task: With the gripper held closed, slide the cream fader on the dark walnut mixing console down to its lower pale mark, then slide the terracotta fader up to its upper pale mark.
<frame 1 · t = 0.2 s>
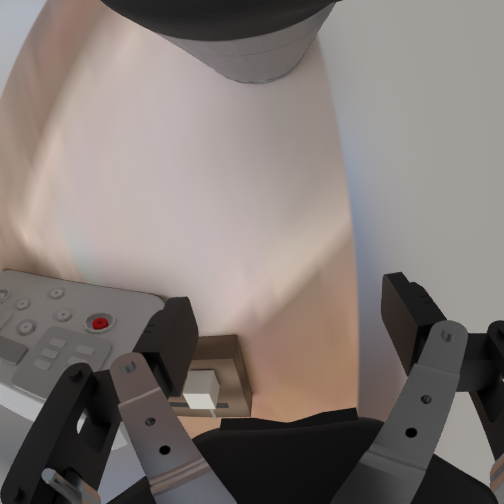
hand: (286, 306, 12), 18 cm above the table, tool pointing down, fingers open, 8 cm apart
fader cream: (202, 389, 32), point 6 cm above the table, slide at 6.0 cm
console: (174, 369, 40), on the table
rounded white slab: (74, 296, 36), on the table
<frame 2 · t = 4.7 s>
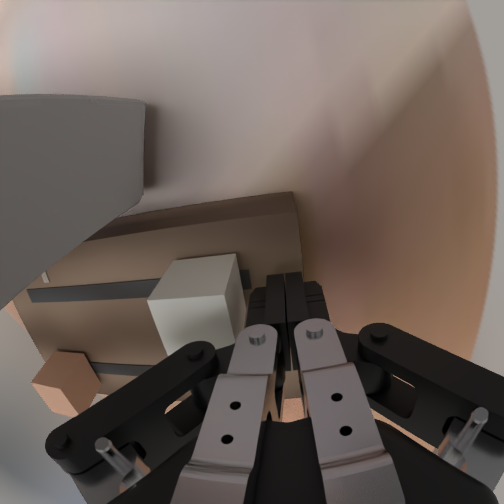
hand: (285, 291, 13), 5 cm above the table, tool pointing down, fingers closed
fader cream: (202, 306, 13), point 6 cm above the table, slide at 5.6 cm, touching gripper
console: (153, 298, 20), on the table
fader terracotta: (67, 384, 17), point 6 cm above the table, slide at -6.0 cm
rounded white slab: (2, 155, 17), on the table
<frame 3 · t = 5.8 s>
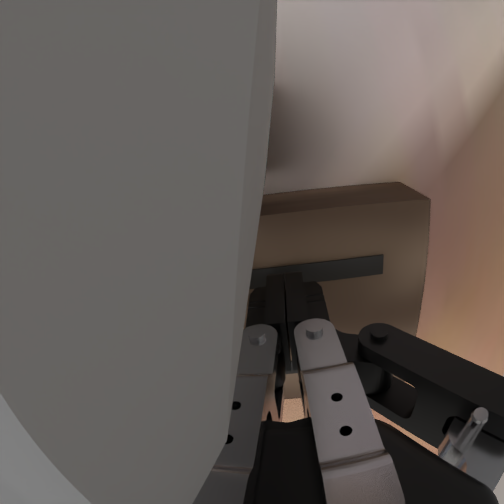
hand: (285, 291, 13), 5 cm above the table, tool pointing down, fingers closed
console: (245, 291, 20), on the table
rounded white slab: (54, 129, 16), on the table
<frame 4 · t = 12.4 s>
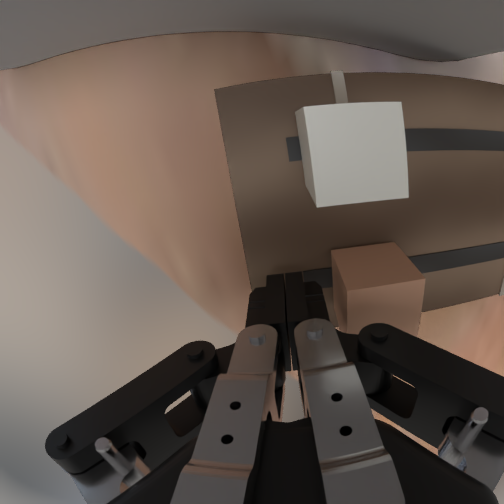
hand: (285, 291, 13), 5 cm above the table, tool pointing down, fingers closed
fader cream: (347, 148, 10), point 6 cm above the table, slide at -5.5 cm
console: (416, 184, 16), on the table
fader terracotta: (373, 295, 12), point 6 cm above the table, slide at -4.7 cm, touching gripper
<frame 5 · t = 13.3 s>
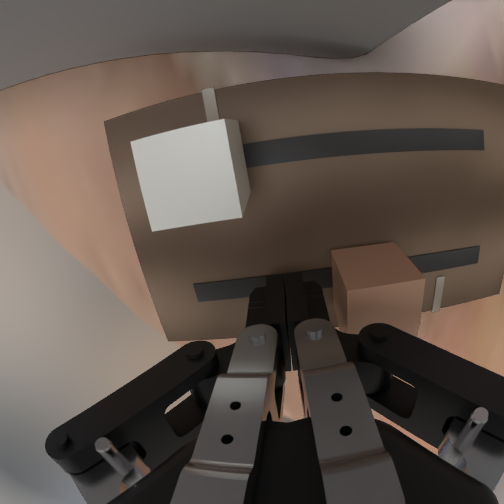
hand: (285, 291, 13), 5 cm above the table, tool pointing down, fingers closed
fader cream: (198, 169, 10), point 6 cm above the table, slide at -5.5 cm
console: (331, 192, 16), on the table
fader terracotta: (373, 295, 12), point 6 cm above the table, slide at 0.6 cm, touching gripper
rounded white slab: (111, 24, 13), on the table
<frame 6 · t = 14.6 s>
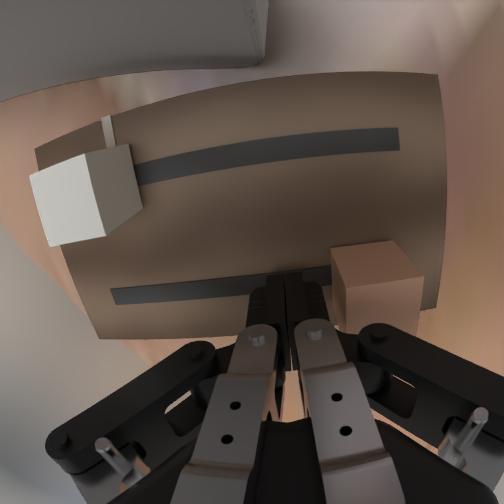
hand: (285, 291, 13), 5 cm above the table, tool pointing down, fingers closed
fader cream: (88, 192, 11), point 6 cm above the table, slide at -5.5 cm
console: (244, 202, 17), on the table
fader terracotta: (372, 293, 12), point 6 cm above the table, slide at 5.4 cm, touching gripper
rounded white slab: (54, 52, 14), on the table
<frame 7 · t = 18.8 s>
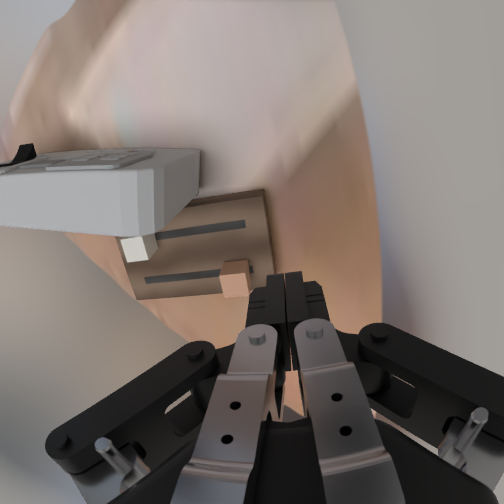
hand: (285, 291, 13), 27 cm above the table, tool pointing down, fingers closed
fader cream: (139, 244, 36), point 6 cm above the table, slide at -5.5 cm
console: (197, 242, 42), on the table
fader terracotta: (236, 278, 37), point 6 cm above the table, slide at 5.5 cm
rounded white slab: (107, 167, 39), on the table
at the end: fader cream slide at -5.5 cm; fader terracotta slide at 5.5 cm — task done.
